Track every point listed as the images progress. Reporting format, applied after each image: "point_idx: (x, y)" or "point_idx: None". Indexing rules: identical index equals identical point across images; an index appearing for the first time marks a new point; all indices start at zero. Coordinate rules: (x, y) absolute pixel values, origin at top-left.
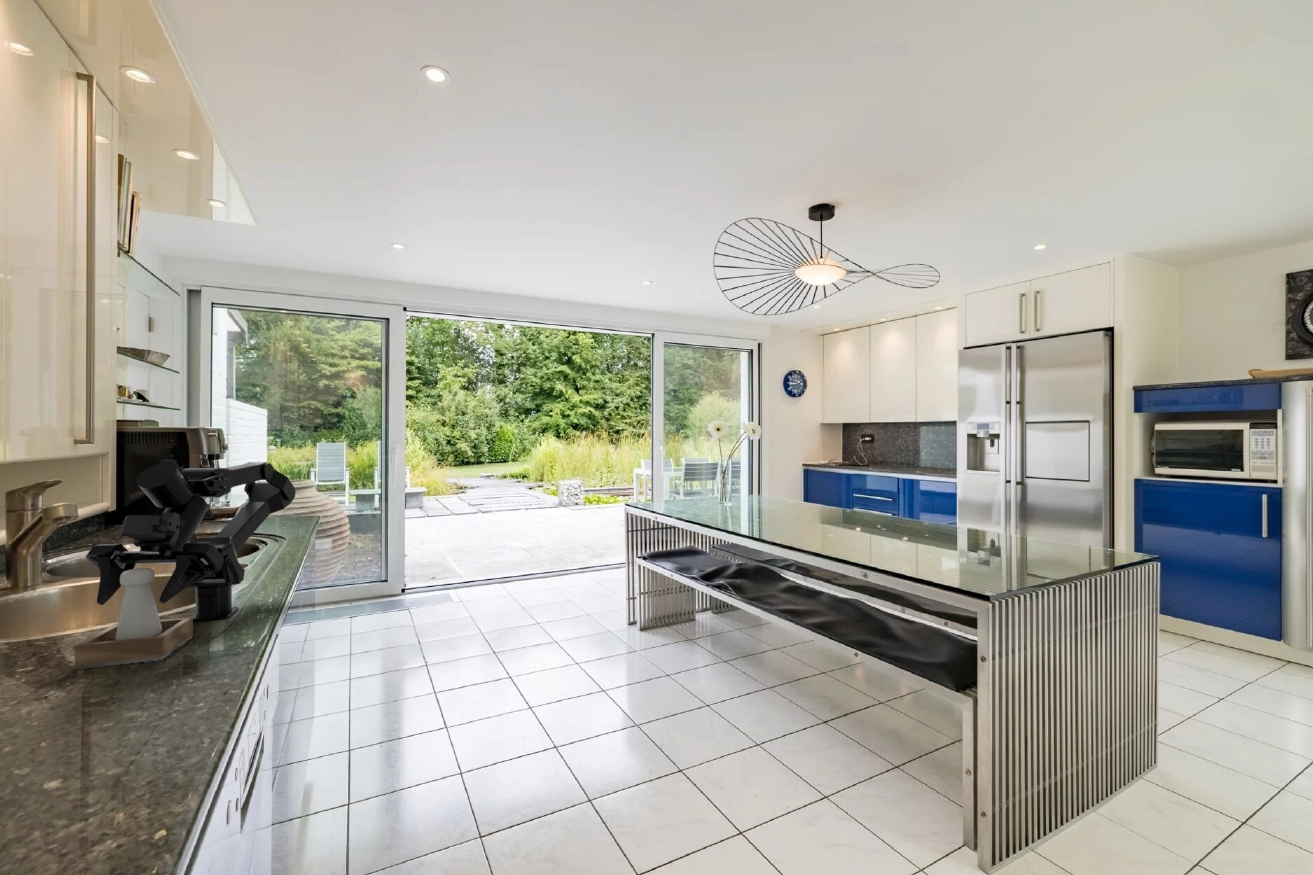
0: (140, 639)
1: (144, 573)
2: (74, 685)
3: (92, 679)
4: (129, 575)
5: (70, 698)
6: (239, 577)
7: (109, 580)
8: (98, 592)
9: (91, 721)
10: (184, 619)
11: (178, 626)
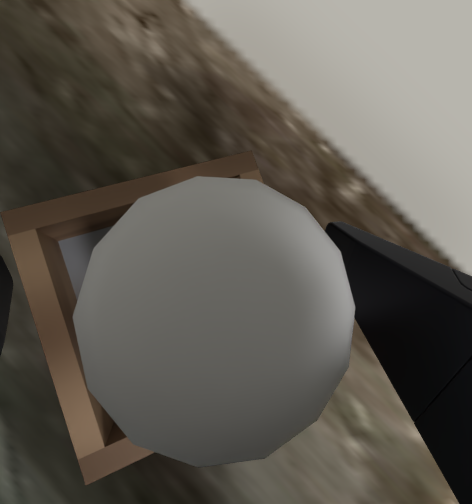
0: (77, 197)
1: (93, 260)
2: (138, 79)
3: (126, 110)
4: (195, 179)
5: (73, 4)
6: None
7: (426, 300)
8: (382, 239)
9: None
10: (98, 447)
11: (46, 352)
